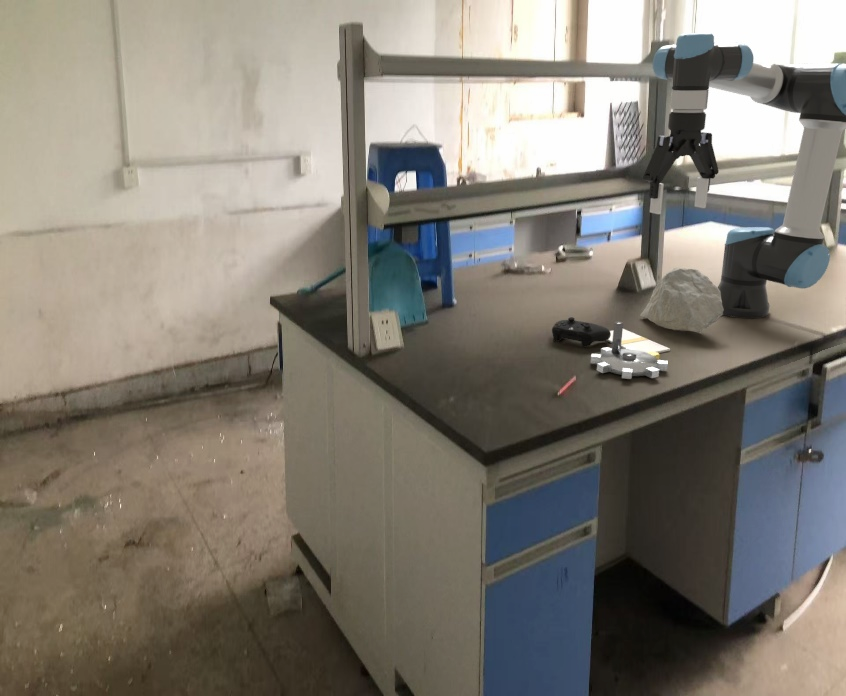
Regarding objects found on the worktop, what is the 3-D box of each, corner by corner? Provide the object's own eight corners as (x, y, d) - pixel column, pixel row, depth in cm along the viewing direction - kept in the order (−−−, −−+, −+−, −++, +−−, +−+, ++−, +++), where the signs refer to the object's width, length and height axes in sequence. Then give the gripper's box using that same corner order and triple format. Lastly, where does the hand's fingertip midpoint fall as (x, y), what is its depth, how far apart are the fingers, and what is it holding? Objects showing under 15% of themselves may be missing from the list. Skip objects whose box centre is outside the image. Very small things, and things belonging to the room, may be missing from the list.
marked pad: (622, 330, 203) (623, 328, 202) (669, 350, 188) (670, 348, 188) (594, 335, 199) (594, 333, 199) (640, 356, 185) (640, 354, 184)
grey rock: (730, 336, 198) (738, 278, 193) (694, 345, 192) (701, 285, 187) (661, 314, 216) (667, 260, 211) (626, 321, 210) (631, 266, 205)
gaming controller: (614, 321, 193) (597, 324, 185) (611, 345, 194) (594, 349, 187) (563, 312, 202) (544, 315, 194) (560, 335, 203) (541, 339, 195)
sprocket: (632, 349, 188) (636, 313, 185) (683, 371, 174) (687, 334, 171) (575, 359, 181) (578, 323, 178) (623, 384, 167) (627, 345, 164)
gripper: (715, 107, 178) (705, 202, 185) (631, 112, 166) (623, 213, 174) (742, 109, 171) (730, 207, 179) (657, 114, 160) (648, 218, 168)
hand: (678, 210), depth 176 cm, fingers open, 13 cm apart
